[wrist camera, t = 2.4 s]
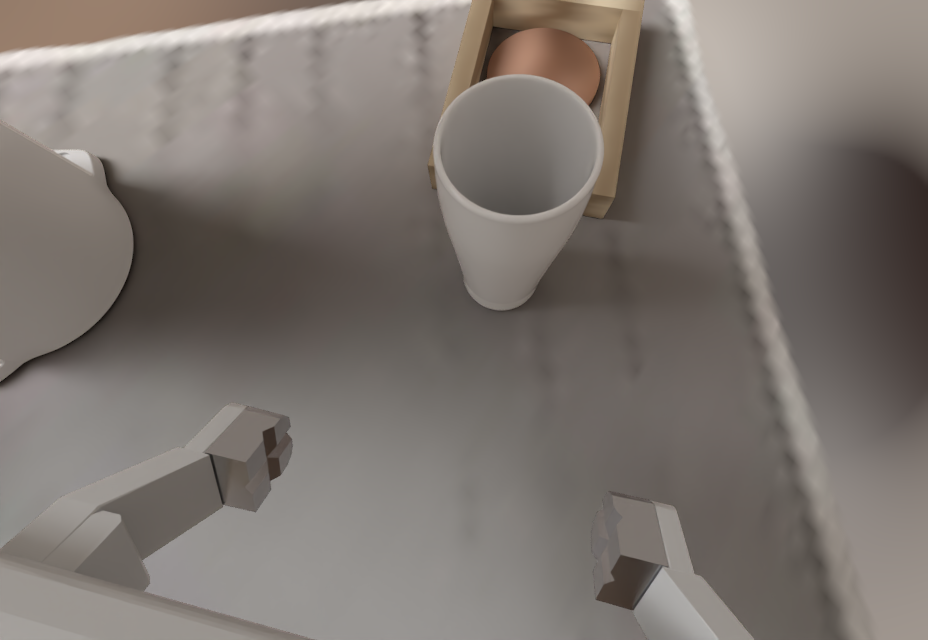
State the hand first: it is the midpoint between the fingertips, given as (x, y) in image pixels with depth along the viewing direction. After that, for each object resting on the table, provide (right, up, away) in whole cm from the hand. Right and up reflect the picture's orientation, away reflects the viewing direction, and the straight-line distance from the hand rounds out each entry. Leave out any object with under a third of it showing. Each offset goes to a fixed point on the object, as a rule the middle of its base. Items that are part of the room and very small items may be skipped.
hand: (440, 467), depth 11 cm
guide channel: (+6, +21, +24) cm, 32 cm away
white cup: (+3, +7, +20) cm, 22 cm away
